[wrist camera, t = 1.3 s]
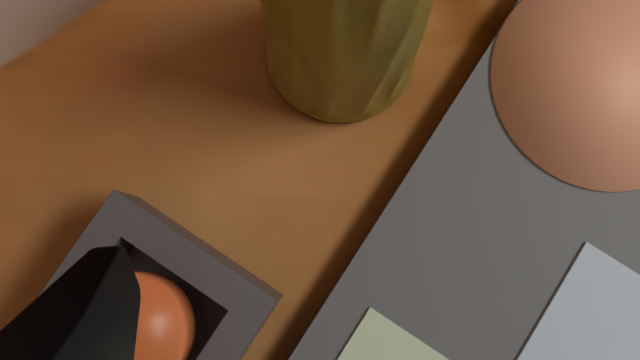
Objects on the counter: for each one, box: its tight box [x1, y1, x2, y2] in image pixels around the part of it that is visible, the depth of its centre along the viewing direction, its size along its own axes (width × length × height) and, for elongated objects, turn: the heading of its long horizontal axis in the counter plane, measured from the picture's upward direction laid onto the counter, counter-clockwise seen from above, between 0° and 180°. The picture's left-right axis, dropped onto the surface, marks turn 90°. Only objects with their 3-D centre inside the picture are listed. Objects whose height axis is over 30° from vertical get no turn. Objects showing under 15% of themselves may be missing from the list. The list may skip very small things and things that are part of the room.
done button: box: [134, 271, 196, 360], centre depth 17 cm, size 4×4×2 cm
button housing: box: [38, 190, 283, 360], centre depth 19 cm, size 7×7×2 cm
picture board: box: [287, 0, 640, 360], centre depth 20 cm, size 28×14×1 cm, turn 147°
